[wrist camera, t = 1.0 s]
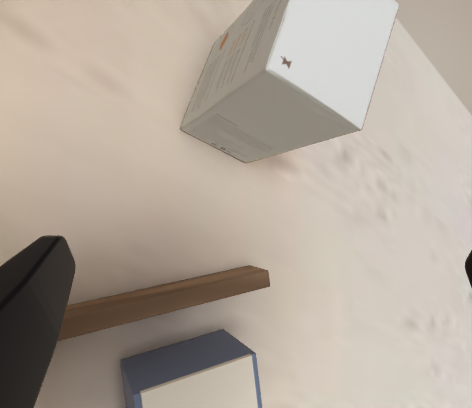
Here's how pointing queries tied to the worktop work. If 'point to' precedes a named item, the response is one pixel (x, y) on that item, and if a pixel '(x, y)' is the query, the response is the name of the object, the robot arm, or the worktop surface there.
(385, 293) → the worktop surface
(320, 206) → the worktop surface
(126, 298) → the book rack
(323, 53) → the small box
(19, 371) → the robot arm
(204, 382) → the boxed book
